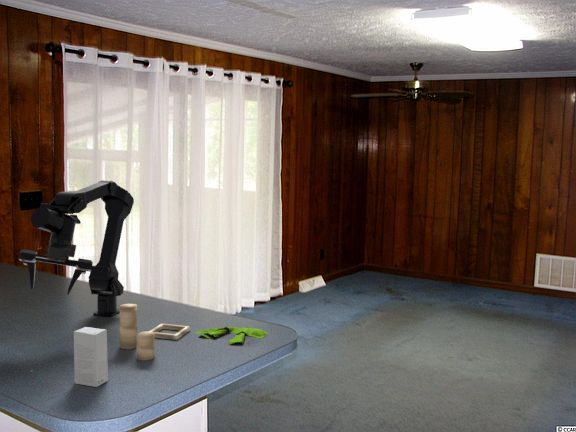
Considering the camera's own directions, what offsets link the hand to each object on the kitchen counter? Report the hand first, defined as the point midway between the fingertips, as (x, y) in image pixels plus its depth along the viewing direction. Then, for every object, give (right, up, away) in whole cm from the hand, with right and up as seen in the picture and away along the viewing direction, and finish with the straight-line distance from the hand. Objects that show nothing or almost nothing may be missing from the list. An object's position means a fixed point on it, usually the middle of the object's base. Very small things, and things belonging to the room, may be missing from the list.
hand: (50, 292), depth 158 cm
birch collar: (+31, -13, +8) cm, 34 cm away
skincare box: (+21, -17, -28) cm, 38 cm away
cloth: (+48, -14, +7) cm, 50 cm away
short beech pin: (+29, -15, -11) cm, 34 cm away
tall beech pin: (+22, -14, -4) cm, 27 cm away
